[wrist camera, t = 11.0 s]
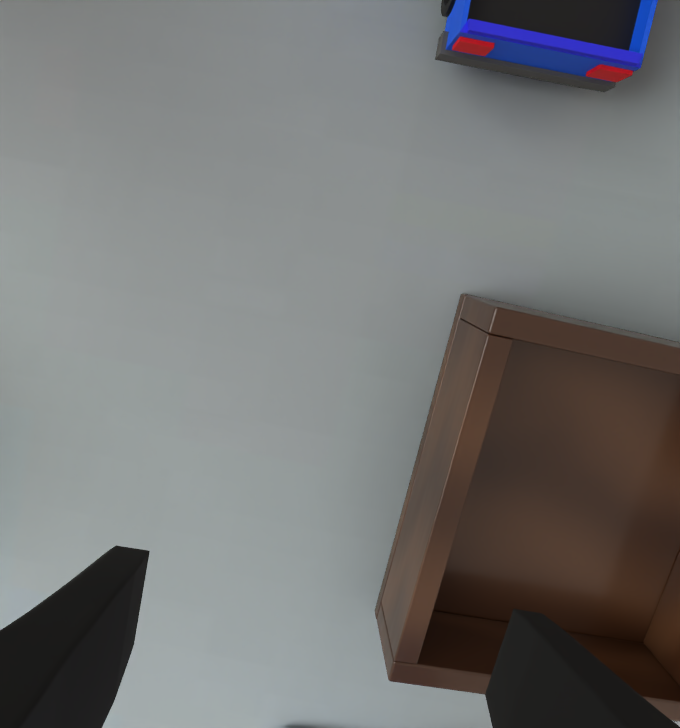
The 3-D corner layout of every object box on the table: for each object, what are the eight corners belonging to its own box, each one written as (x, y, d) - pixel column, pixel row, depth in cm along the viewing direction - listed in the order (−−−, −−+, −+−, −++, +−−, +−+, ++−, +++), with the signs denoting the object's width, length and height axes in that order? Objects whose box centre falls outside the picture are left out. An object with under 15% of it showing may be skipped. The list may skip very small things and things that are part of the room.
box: (646, 652, 23) (706, 726, 19) (374, 611, 22) (387, 682, 18) (763, 361, 20) (856, 387, 17) (460, 292, 19) (495, 306, 15)
